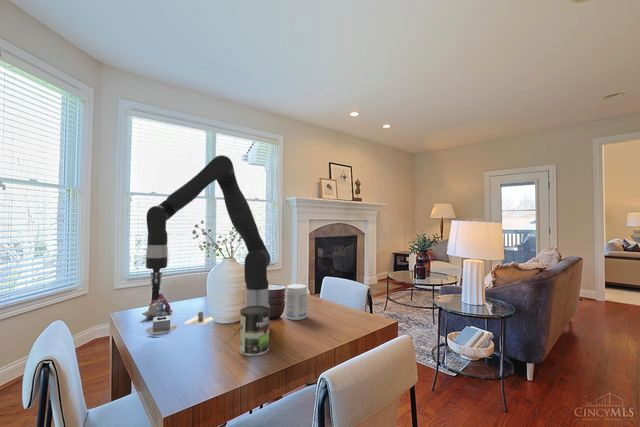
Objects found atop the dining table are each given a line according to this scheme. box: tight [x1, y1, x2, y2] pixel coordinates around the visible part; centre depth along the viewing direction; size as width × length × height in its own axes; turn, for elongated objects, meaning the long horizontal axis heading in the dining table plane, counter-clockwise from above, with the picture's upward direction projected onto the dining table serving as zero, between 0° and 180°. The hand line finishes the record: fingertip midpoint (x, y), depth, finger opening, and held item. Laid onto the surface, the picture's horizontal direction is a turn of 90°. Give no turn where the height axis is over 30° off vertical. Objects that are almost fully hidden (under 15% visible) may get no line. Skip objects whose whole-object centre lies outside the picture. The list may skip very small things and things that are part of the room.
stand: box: [183, 311, 215, 326], centre depth 133 cm, size 10×10×5 cm
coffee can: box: [239, 306, 271, 357], centre depth 108 cm, size 10×10×14 cm
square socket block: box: [152, 315, 171, 332], centre depth 122 cm, size 6×6×4 cm
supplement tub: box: [285, 283, 308, 321], centre depth 143 cm, size 10×10×15 cm
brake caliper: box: [141, 292, 173, 321], centre depth 139 cm, size 11×11×12 cm
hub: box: [145, 319, 178, 339], centre depth 122 cm, size 11×11×5 cm
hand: (155, 299), depth 121 cm, fingers closed
